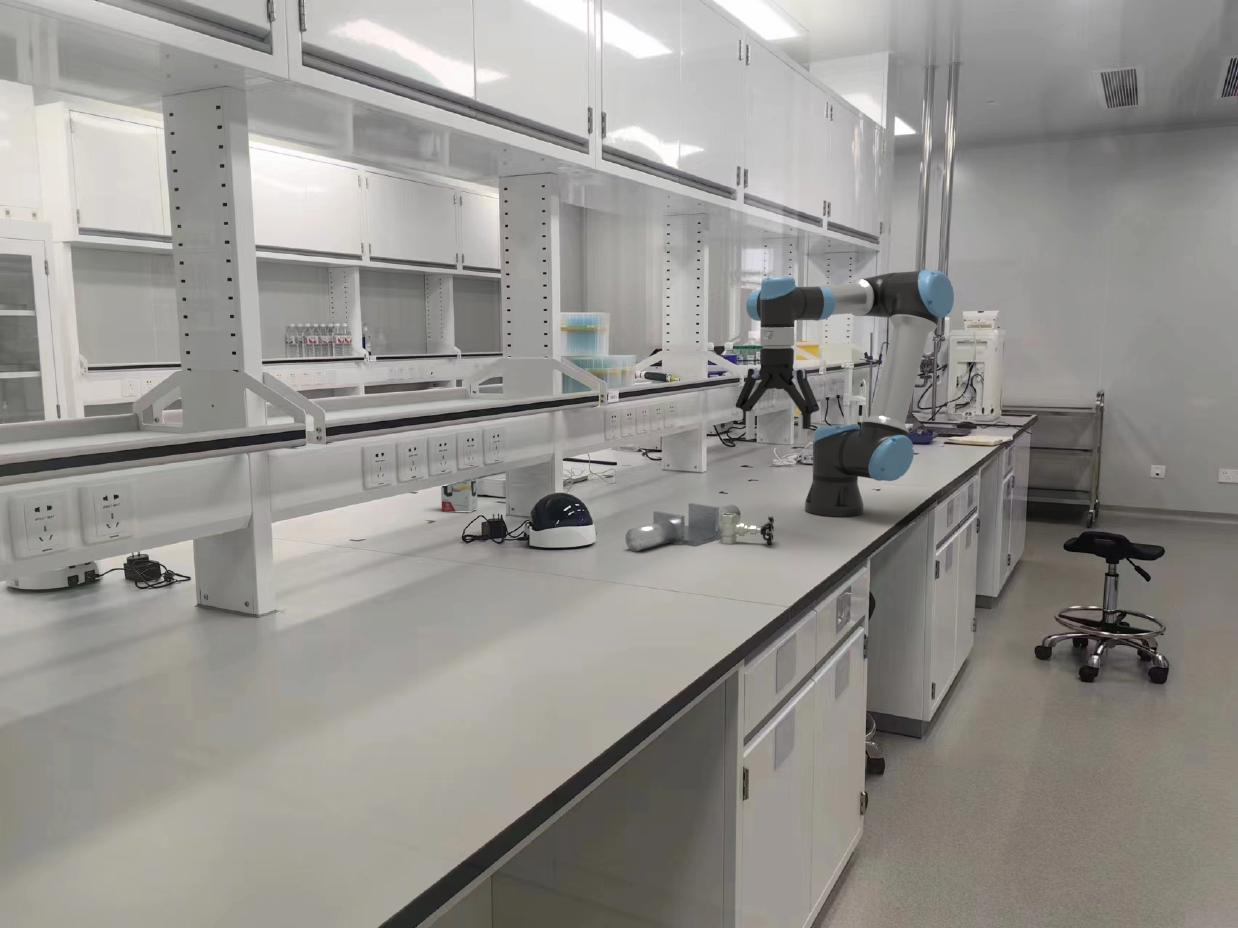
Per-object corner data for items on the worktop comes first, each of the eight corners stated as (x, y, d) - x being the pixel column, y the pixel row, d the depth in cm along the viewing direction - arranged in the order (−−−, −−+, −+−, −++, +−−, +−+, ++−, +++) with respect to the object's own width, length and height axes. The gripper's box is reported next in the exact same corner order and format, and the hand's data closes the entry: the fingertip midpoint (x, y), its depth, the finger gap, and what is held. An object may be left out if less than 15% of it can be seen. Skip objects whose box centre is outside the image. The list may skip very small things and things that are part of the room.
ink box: (440, 511, 234) (439, 467, 233) (449, 508, 239) (448, 465, 237) (469, 513, 232) (468, 469, 230) (478, 510, 236) (477, 466, 235)
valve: (716, 545, 197) (770, 548, 194) (717, 516, 196) (771, 519, 193) (721, 538, 203) (773, 542, 200) (721, 510, 202) (774, 513, 199)
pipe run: (709, 520, 223) (709, 495, 222) (755, 528, 214) (756, 502, 213) (610, 546, 196) (610, 517, 195) (659, 556, 186) (659, 526, 186)
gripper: (721, 347, 203) (720, 439, 206) (819, 348, 187) (817, 447, 190) (738, 346, 208) (738, 435, 212) (835, 347, 192) (833, 443, 196)
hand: (775, 441), depth 201 cm, fingers open, 13 cm apart
